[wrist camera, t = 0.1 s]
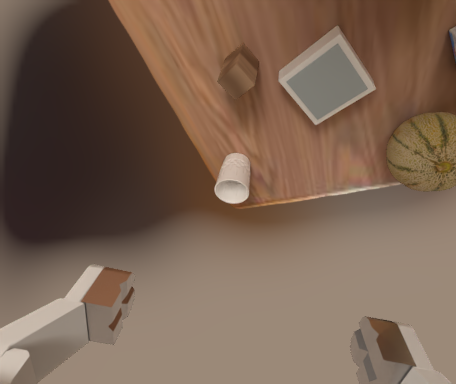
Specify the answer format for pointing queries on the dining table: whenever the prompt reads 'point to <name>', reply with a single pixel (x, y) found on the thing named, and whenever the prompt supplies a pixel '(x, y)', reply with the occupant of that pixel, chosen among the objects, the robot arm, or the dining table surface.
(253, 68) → the walnut block
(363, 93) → the base tray
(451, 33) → the medicine box
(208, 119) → the dining table surface
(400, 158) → the cantaloupe
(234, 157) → the white cup
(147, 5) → the dining table surface
